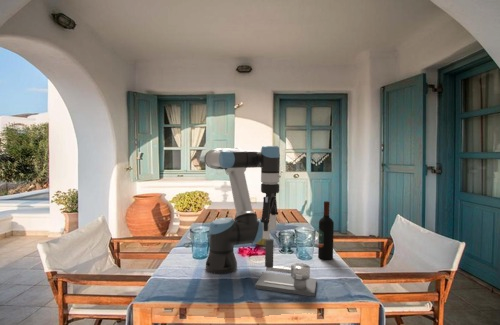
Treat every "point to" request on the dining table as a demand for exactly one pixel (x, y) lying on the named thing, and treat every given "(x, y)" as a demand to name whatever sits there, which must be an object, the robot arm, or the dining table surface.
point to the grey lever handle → (296, 270)
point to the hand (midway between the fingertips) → (269, 234)
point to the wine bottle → (326, 235)
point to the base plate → (286, 284)
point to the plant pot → (261, 242)
